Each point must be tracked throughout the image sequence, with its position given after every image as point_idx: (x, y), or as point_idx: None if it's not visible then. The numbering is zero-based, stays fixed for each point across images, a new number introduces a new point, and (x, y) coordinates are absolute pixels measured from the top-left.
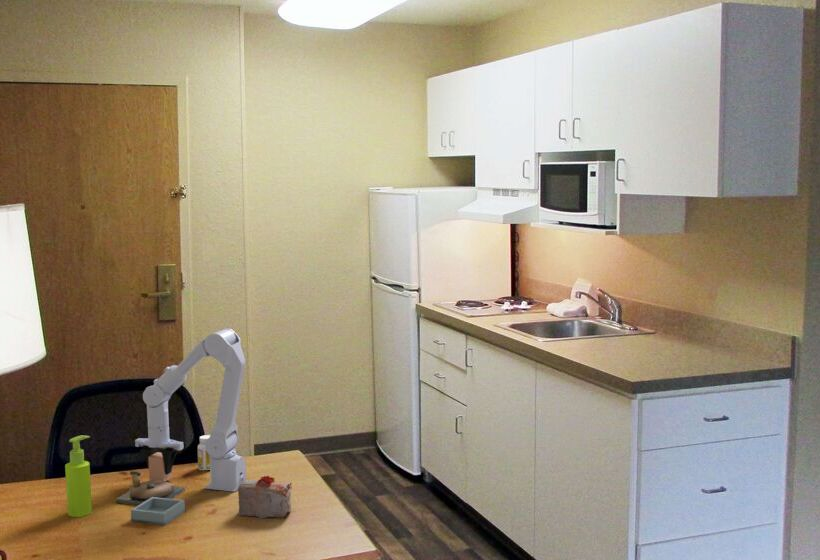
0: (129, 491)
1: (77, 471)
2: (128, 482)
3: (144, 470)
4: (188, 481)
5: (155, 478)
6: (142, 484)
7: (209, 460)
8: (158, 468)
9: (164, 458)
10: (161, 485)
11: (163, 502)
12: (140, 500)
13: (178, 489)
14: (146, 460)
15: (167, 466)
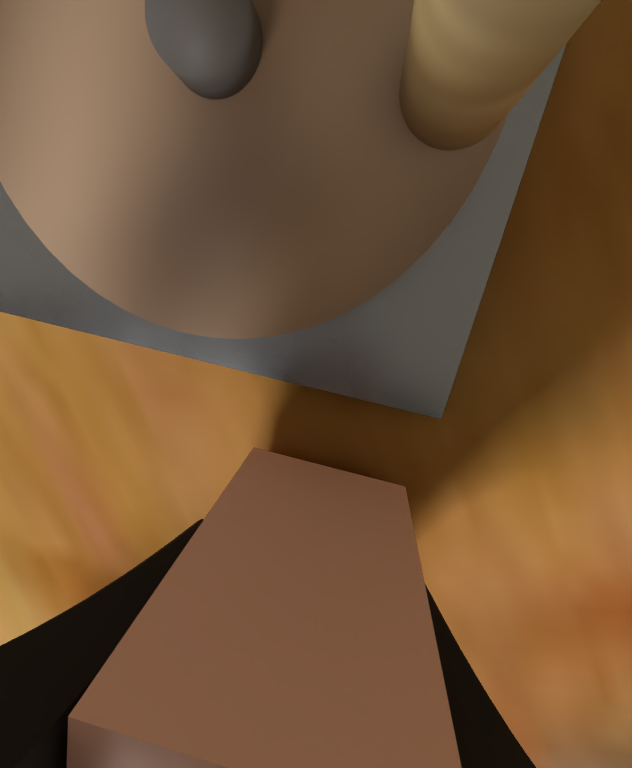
0: (536, 101)
1: None
2: (629, 508)
3: (547, 758)
4: (103, 518)
5: (334, 486)
6: (383, 169)
7: None
8: (263, 554)
9: (30, 709)
10: (112, 157)
11: None
12: None
13: (10, 237)
14: (512, 758)
15: (123, 575)
